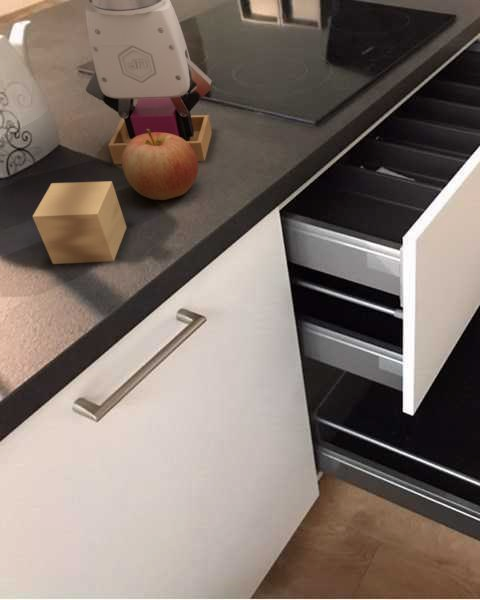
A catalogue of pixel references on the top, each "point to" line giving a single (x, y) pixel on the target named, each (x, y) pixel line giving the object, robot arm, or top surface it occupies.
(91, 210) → the birch block
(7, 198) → the top surface
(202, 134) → the tray
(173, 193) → the apple
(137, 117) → the pink block
